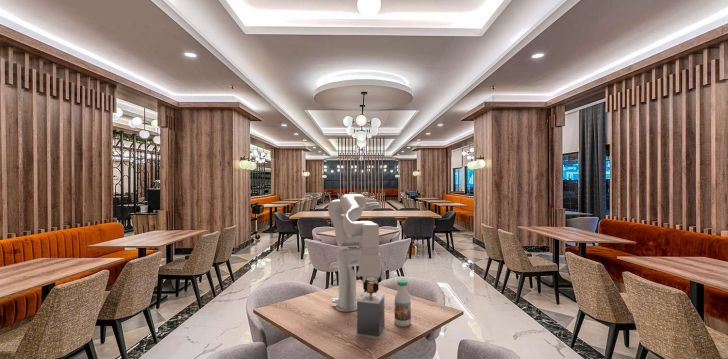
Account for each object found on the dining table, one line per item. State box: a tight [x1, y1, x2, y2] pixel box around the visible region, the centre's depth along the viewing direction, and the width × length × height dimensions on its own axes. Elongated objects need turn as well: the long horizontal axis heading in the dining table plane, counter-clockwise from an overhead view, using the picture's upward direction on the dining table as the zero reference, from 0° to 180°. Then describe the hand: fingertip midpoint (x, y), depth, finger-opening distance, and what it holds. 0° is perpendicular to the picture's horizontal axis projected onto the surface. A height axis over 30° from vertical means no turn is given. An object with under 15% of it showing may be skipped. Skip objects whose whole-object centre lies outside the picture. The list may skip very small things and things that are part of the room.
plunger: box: [366, 281, 375, 297], centre depth 140 cm, size 8×8×20 cm
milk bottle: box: [394, 279, 412, 327], centre depth 149 cm, size 8×8×20 cm
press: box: [356, 291, 386, 340], centre depth 141 cm, size 10×13×16 cm
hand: (370, 291), depth 140 cm, fingers closed on plunger, 4 cm apart
